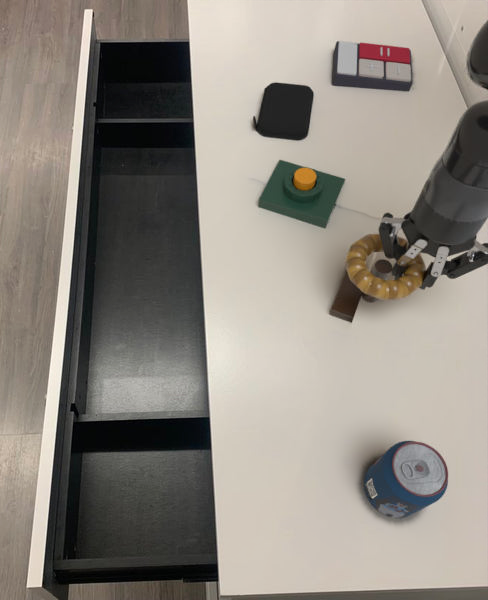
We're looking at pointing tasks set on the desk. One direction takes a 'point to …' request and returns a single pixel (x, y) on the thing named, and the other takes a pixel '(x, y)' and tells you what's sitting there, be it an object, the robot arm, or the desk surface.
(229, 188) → the desk surface
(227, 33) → the desk surface
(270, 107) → the carrying case
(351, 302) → the stand
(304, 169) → the button
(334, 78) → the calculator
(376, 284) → the ring
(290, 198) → the green push button box
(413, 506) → the soda can
